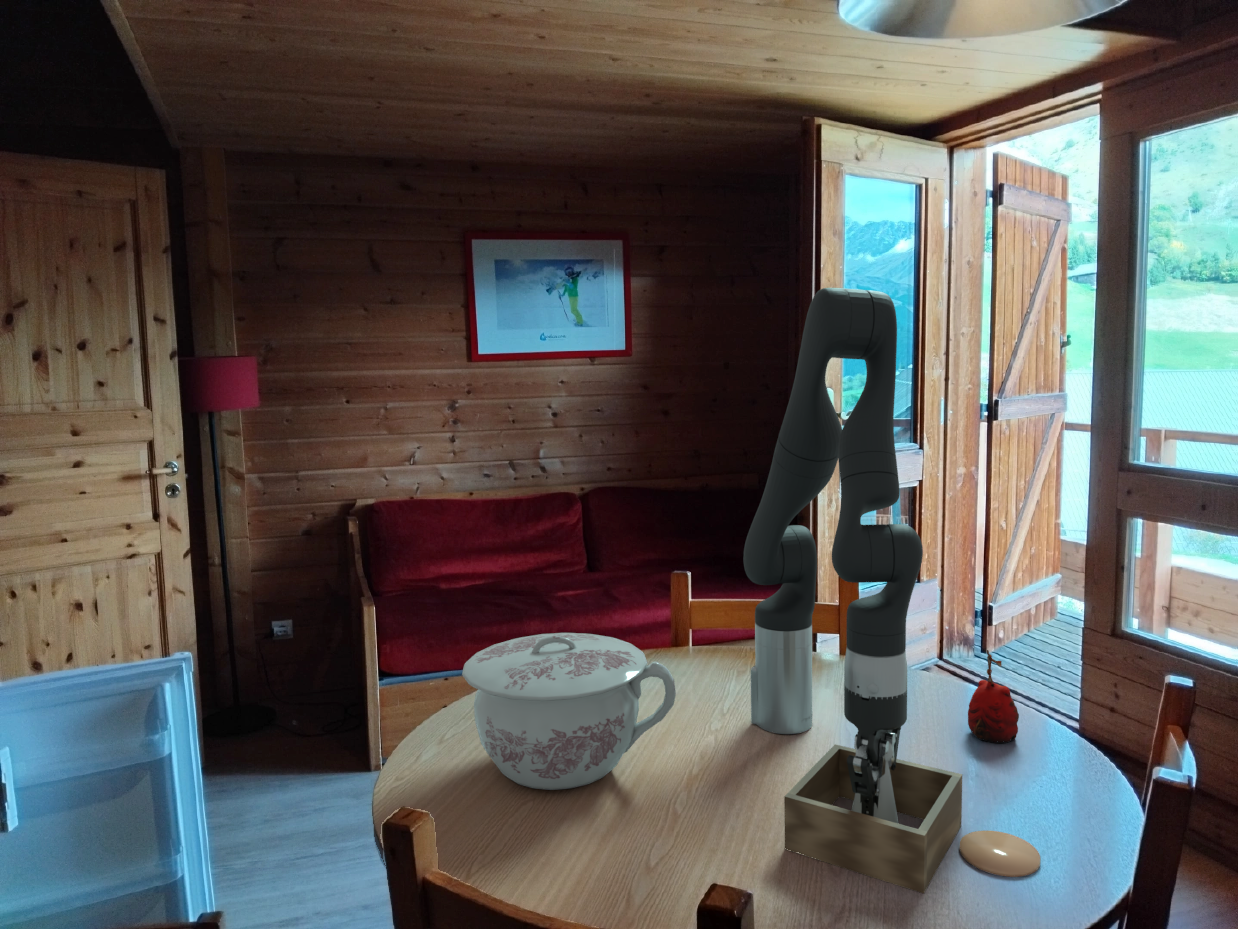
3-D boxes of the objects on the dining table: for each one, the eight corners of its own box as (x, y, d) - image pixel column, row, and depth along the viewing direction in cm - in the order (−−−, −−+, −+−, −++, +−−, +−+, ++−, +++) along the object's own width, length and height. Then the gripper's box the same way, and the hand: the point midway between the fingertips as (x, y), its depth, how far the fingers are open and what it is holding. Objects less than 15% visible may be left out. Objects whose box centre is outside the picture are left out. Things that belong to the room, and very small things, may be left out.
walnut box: (784, 849, 109) (784, 796, 109) (834, 791, 123) (834, 744, 122) (923, 893, 100) (924, 835, 99) (961, 825, 114) (962, 774, 113)
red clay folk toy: (1025, 737, 139) (1028, 645, 137) (1004, 751, 134) (1007, 656, 132) (979, 723, 144) (981, 634, 142) (957, 736, 140) (959, 645, 138)
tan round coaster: (951, 862, 106) (951, 857, 106) (969, 828, 113) (969, 823, 113) (1032, 885, 101) (1032, 880, 101) (1046, 848, 108) (1046, 843, 108)
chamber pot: (430, 774, 132) (422, 641, 130) (562, 716, 152) (558, 599, 150) (557, 839, 113) (551, 685, 111) (690, 763, 133) (687, 631, 131)
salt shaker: (900, 851, 108) (901, 751, 107) (852, 847, 109) (852, 748, 108) (895, 826, 114) (896, 730, 112) (849, 822, 115) (850, 728, 113)
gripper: (865, 660, 117) (864, 783, 119) (825, 696, 105) (825, 831, 108) (922, 670, 113) (920, 798, 115) (887, 708, 101) (886, 849, 103)
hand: (874, 813), depth 111 cm, fingers closed on salt shaker, 3 cm apart
